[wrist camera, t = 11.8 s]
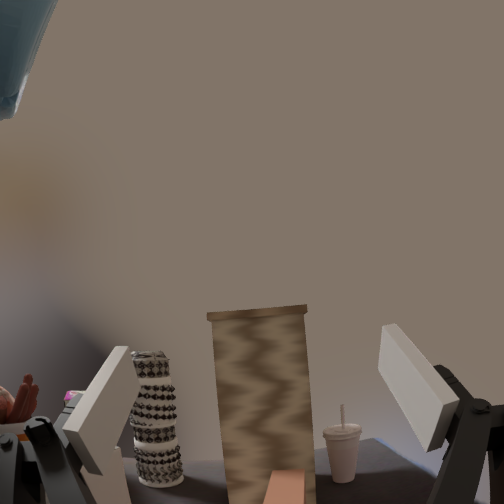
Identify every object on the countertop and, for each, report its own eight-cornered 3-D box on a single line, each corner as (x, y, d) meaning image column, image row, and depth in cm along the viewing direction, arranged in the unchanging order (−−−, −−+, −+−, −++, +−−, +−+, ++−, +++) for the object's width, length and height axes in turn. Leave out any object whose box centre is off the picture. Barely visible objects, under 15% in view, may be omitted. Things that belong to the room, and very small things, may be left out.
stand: (226, 516, 34) (206, 312, 42) (235, 478, 48) (220, 320, 56) (320, 508, 34) (306, 304, 42) (307, 472, 48) (295, 314, 56)
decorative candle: (134, 488, 41) (117, 351, 48) (139, 470, 50) (125, 351, 57) (186, 488, 44) (171, 351, 50) (185, 470, 52) (172, 350, 59)
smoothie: (331, 489, 39) (328, 411, 43) (320, 476, 45) (316, 404, 49) (368, 480, 40) (367, 403, 44) (354, 468, 46) (351, 398, 50)
